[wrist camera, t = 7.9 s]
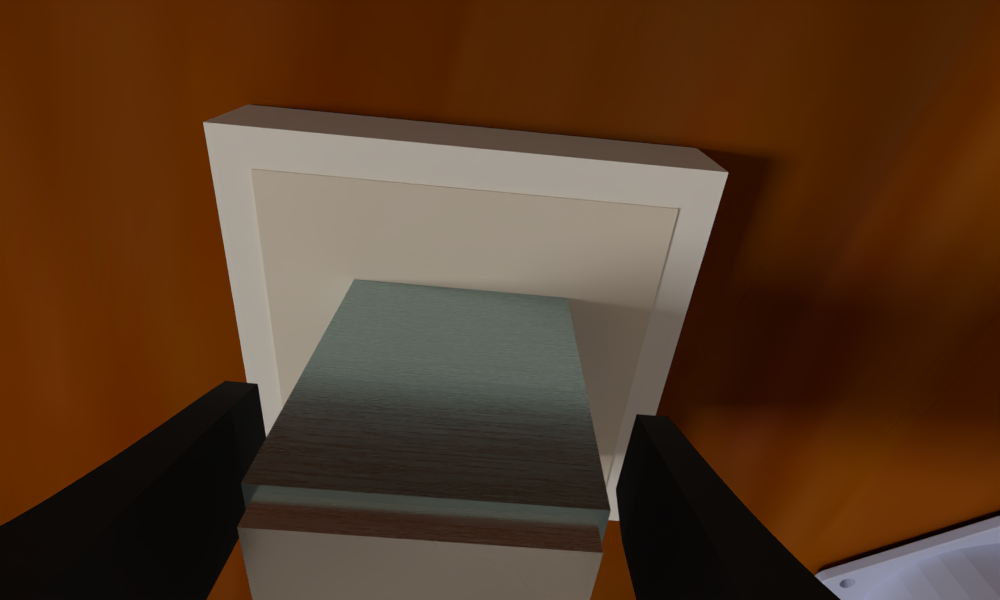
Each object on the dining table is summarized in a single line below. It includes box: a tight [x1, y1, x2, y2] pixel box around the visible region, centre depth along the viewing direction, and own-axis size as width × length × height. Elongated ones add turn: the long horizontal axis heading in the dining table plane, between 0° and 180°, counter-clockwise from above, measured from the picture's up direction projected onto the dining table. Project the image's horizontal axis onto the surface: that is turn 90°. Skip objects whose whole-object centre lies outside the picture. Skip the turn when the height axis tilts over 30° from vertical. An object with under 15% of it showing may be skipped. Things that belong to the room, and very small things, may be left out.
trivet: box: [203, 105, 729, 521], centre depth 13 cm, size 10×10×2 cm
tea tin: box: [237, 279, 611, 600], centre depth 10 cm, size 5×5×6 cm
